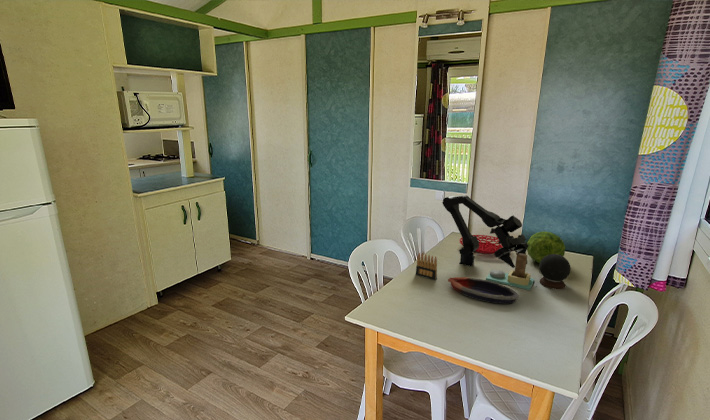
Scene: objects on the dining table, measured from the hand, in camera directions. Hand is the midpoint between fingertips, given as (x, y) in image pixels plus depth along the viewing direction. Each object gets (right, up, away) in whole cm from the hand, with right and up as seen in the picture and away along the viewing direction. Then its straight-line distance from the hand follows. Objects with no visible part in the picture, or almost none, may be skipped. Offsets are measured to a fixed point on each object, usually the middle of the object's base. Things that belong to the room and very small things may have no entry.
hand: (520, 265), depth 179 cm
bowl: (-2, +2, +44) cm, 44 cm away
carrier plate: (-3, -8, +4) cm, 9 cm away
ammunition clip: (-44, -7, +8) cm, 45 cm away
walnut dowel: (0, -7, +2) cm, 8 cm away
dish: (-22, -12, -10) cm, 27 cm away
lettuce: (+25, -2, +27) cm, 37 cm away
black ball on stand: (+16, -9, +1) cm, 18 cm away
